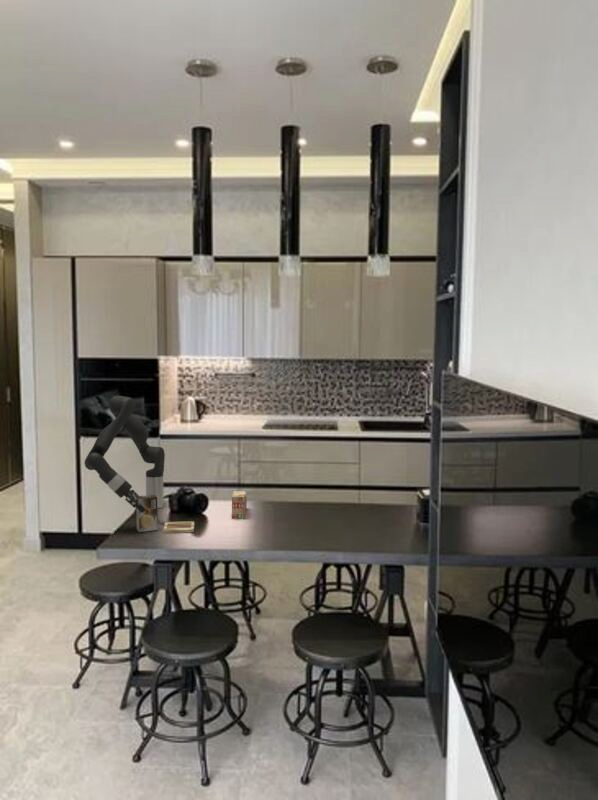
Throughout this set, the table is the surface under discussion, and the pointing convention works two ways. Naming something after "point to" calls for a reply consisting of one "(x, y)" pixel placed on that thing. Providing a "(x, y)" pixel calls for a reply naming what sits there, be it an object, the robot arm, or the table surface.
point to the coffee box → (147, 513)
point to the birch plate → (178, 527)
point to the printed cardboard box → (239, 504)
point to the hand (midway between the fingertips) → (144, 509)
